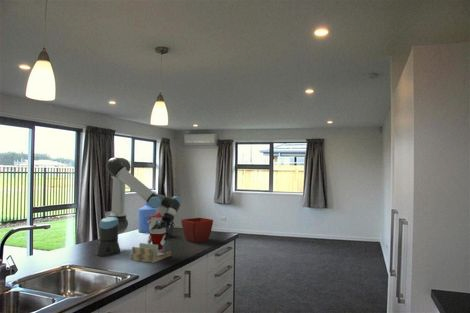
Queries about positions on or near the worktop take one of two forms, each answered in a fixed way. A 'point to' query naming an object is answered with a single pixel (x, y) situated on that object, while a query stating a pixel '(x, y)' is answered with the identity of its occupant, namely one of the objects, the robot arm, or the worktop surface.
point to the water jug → (145, 217)
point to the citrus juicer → (154, 220)
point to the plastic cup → (157, 237)
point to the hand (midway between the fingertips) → (155, 243)
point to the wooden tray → (147, 255)
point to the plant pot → (197, 229)
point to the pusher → (150, 246)
